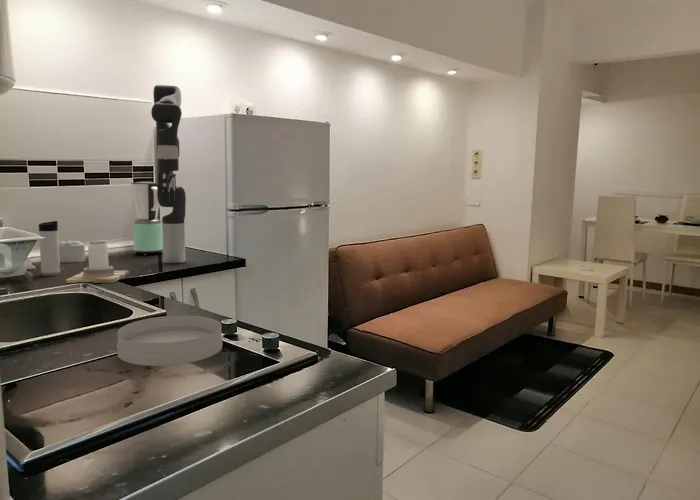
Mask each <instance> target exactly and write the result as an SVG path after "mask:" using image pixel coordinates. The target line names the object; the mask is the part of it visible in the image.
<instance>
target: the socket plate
mask: <svg viewBox="0 0 700 500" xmlns="http://www.w3.org/2000/svg"><path fill="white" fill-rule="evenodd" d="M108 266H109V269H104V270H89V266H86V267H84V268H82V270H83V271H81V272H80V273H77V274H75V275H73V276H71V277H69V278H66V279H65V283H66V284H78V283H77V282H94V283H93V284H95V283H96V284H103V283H104V284H105V283H106V284H107V283H109V284H113V283H116V282H117V281H119V280H120V279H123V278H124V277H126V276H128V275H129V274H130V270H115V267H114V266H113V265H108Z"/></svg>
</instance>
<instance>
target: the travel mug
mask: <svg viewBox="0 0 700 500" xmlns="http://www.w3.org/2000/svg"><path fill="white" fill-rule="evenodd" d="M58 223H59V222H58V220H53V221H47V222H46V221H45V222H41V223H39V224H38V237H39V236H41V237H45V238H43V239H39V238H38V239H39V241H38V242H39V257H40V270H41V272H40V273H41V276H45V277H50V276H52V277H54V276H59V275H60V274H61V263H60V257H59V229H58V228H59V227H58V225H59V224H58Z"/></svg>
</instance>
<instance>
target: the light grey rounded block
mask: <svg viewBox="0 0 700 500" xmlns="http://www.w3.org/2000/svg"><path fill="white" fill-rule="evenodd" d="M85 245H86V244H85V243H84V242H81V241H80V240H69V239H68V240H65V241H63V240H60V241H59V257H60V264H61V263H62V264H64V263H65V264H67V263H80V262H81V263H82V262H86V250H85ZM66 262H67V263H66Z"/></svg>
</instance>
